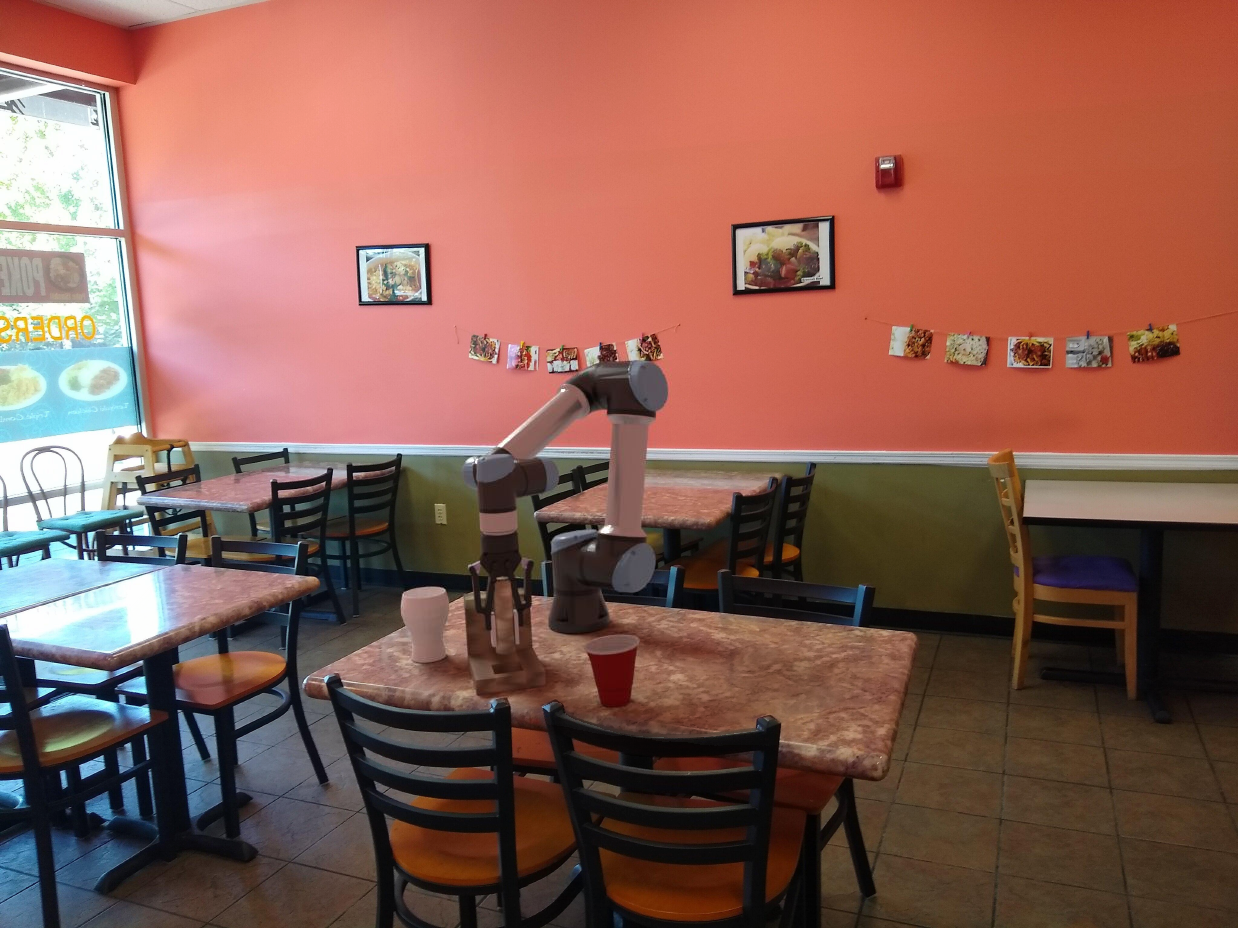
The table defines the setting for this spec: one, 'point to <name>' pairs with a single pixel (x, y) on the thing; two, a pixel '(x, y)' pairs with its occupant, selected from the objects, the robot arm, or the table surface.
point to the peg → (504, 616)
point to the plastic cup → (613, 667)
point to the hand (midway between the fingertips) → (505, 643)
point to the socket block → (495, 668)
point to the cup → (426, 622)
